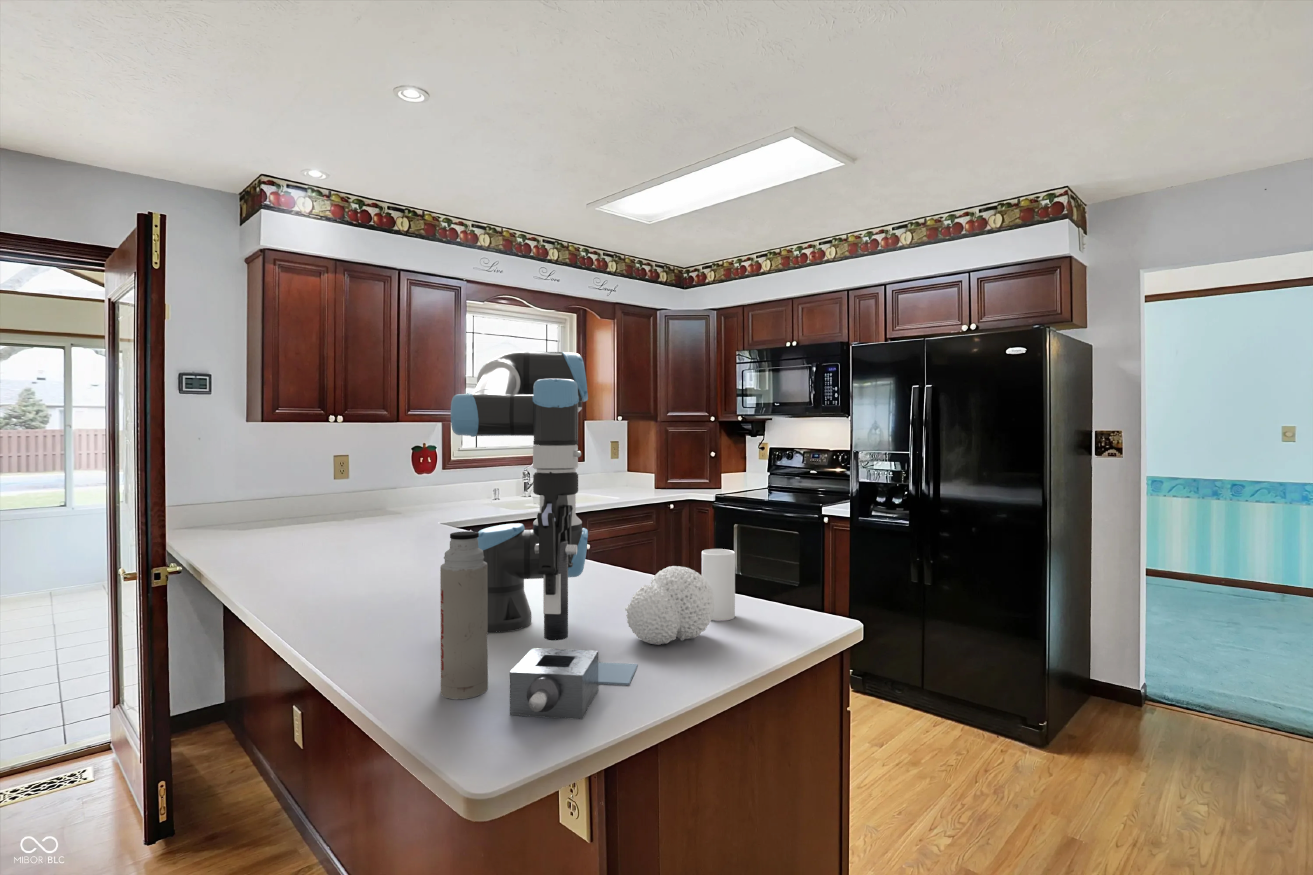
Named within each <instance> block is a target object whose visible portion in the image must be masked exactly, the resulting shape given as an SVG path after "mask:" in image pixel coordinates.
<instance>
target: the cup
mask: <svg viewBox="0 0 1313 875" xmlns="http://www.w3.org/2000/svg"><path fill="white" fill-rule="evenodd" d="M735 568H736V552H735V551H734V550H730V549H725V548H724V549H723V548H710V549H704V550H702V551H701V576H702V577H703V578H704V579H705V580H706V581H707V583H708V584H709V586H710V589H711V590H712V594H713V597H714V612H713V617H712V619H711V621H716V622H717V621H718V622H719V621H720V622H722V621H729V620H733V619H735V617H736V569H735Z"/></svg>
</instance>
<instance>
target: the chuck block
mask: <svg viewBox="0 0 1313 875" xmlns="http://www.w3.org/2000/svg"><path fill="white" fill-rule="evenodd" d="M598 662H599V650H587V649H586V650H583V649H582V650H581V649H564V648H563V649H562V648H560V649H559V648H538V647H537V648H536V647H535V648H534V647H532V648H531V649H530V650H529V651H528V652H527V653H526V654H525V656H523V657H522V659H521V660H520V661H519V662H518V663H516V665H515V666H514V667H513V668H512V669H511V670H510V671H509V716H513V717H515V716H516V717H518V716H519V717H535V718H548V719H549V718H550V719H551V718H552V719H566V720H567V719H568V720H569V719H571V720H583V719H584V717H585V715H586V713H587V712H588V711H589V708H590V707H591V705H592V703H593V701H594V699H595V697H596V695H597V694H598V692H599V684H598Z"/></svg>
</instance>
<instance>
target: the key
mask: <svg viewBox="0 0 1313 875" xmlns="http://www.w3.org/2000/svg"><path fill="white" fill-rule="evenodd" d="M534 550H535V554H539V544H535V549H534ZM568 554H577V545H568V541H562V540H560V554H559V573H558V574H561V613H560V614H543V638H544V640H547V641H553V642H554V641H557V642H558V641H562V640H566V639H568V638H569V578H568Z"/></svg>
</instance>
